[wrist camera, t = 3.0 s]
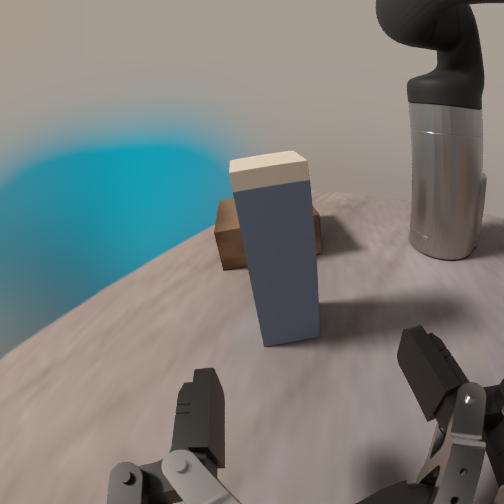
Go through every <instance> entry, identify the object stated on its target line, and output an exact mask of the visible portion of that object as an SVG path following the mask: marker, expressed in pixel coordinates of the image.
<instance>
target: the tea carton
mask: <svg viewBox="0 0 504 504" xmlns="http://www.w3.org/2000/svg"><path fill="white" fill-rule="evenodd" d="M229 175H230V180H231V185H232V190H233V195H234V200H235V205H236V210H237V215H238V220H239V225H240V231H241V236H242V241H243V246H244V250H245V255H246V260H247V265H248V270H249V275H250V280H251V285H252V290H253V295H254V300H255V305H256V310H257V315H258V319H259V324H260V329H261V334H262V339H263V344H264V347H267V346H273V345H278V344H284V343H290V342H295V341H300V340H305V339H310V338H315V337H320V331H319V298H318V276H317V259H316V244H315V230H314V218H313V207H312V197H311V187H310V177H309V169H308V161H307V160H306V159H304V158H303V157H302V156H300V155H299V154H297V153H296V152H294V151H293V150H292V151H285V152H279V153H272V154H265V155H258V156H252V157H246V158H241V159H235V160H231V161H230V169H229Z"/></svg>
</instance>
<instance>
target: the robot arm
mask: <svg viewBox="0 0 504 504" xmlns="http://www.w3.org/2000/svg"><path fill="white" fill-rule="evenodd" d="M479 3H504V0H376V14H377V19H378V21H379V24H380V26H381V27H382V29H383V31H384V32H385V33H386V34H387V35H388V36H389V37H390V38H391V39H393V40H395V41H397V42H399V43H402V44H405V45H408V46H411V47H418V48H425V49H431V50H437V60H438V61H437V62H438V63H437V67H436V68H435V69H434V70H433V71H432V72H430V73H428V74H425V75H422V76H418V77H415V78H412V79H410V80H409V81H408V83H407V95H408V102H410V103H409V114H410V127H411V143H412V202H411V221H410V235H409V240H410V242H411V244H412V245H413V246H414V247H415V248H416V249H417V250H419V251H420V252H422V253H424V254H426V255H429V256H432V257H435V258H440V259H449V260H454V259H461V258H464V257H466V256H468V255H469V254H470V253H471V252H472V249H473V248H474V247H477V246H478V241H479V236H480V230H481V224H482V217H483V209H484V201H485V192H486V180H487V178H486V175H485V174H484V173H482V168H483V121H482V110H480V109H482V101H481V100H482V99H481V98H482V93H483V88H484V68H483V59H482V53H481V45H480V39H479V34H478V29H477V24H476V20H475V17H474V15H473V12H472V9H471V7H470V6H469V4H479ZM397 359H398V363H399V366H400V368H401V369H402V371H403V373H404V375H405V377H406V379H407V381H408V383H409V385H410V387H411V389H412V391H413V393H414V395H415V397H416V399H417V401H418V403H419V405H420V407H421V409H422V411H423V413H424V415H425V417H426V420H427V422H428V421H430V420H433V419H435V418H436V420H437V422H438V423H437V425H436V428H435V432H434V436H433V439H432V443H431V446H430V449H429V453H428V456H427V459H426V462H425V464H424V466H423V467H422V469H421V471H420V473H419V475H418V477H417V479H416V482H415V483H413V484H407V481H406V480H405V481H402V482H400V483H397V484H395V485H392V486H389V487H387V488H384V489H381V490H379V491H378V492H376V493H374V494H372V495H371V496H369V497H367V498H365V499H364V500H362V501H360V502H358V503H356V504H472V502H473V499H474V495H475V492H476V488H477V485H478V481H479V477H480V473H481V469H482V464H483V459H484V454H485V450H486V452H487V455H488V458H489V460H490V463H491V466H492V468H493V471H494V474H495V477H496V480H497V483H498V486H499V490H498V492H497V495H496V497H495V499H494V504H504V379H503V380H502V382H501V383H500V385H495V386H490V387H482V386H481V385H479V384H477V383H474V382H469V380H468V379H467V378H466V376H465V375H464V373H463V371H462V370H461V368H460V367H459V365H458V364H457V362H456V361H455V359H454V358H453V356H451V353H450V352H449V350H448V349H446V346H445V345H444V343H443V342H442V340H441V339H440V338H438V337H437V336H435V335H434V334H433V333H429V334H427V332H426V331H425V330H424V328H423V327H422V326H421V325H416V326H413V327H410V328H407V329H404V330H403V332H402V336H401V341H400V345H399V349H398V353H397ZM217 468H225V399H224V392H223V388H222V386H221V384H220V381H219V379H218V376H217V374H216V372H215V369H214V368H203V369H195V371H194V377H193V382H188V383H184V385H183V386H182V388H181V390H180V391H179V393H178V400H177V407H176V415H175V423H174V431H173V439H172V447H171V450H170V452H169V453H168V454H167V455H166V456H165V458H164V459H162V460H160V461H158V462H155V463H151V464H147V465H142V466H136V465H135V464H133V463H130V462H122V463H119V464H117V465H116V466H115V467H114V468H113V469H112V471H111V473H110V479H109V488H108V497H107V504H172V503H177V502H181V501H184V502H185V503H186V504H242V503H241V502H240V501H239V500H238V499H237V498H236V497H235V496H234V495H233V494H232V493H231V492H230V491H229V490H228V489H227V488H226V487H225V486H224V485H223V484H222V483H221V482H220V481H219V480H218V479H217Z"/></svg>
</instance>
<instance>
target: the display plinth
mask: <svg viewBox="0 0 504 504" xmlns="http://www.w3.org/2000/svg"><path fill="white" fill-rule="evenodd" d="M312 207H313V206H312ZM313 218H314V230H315V244H316V254H321V253H322V245H321V229H320V215H319V213H318V212H317V211H316V210H315V208H314V207H313ZM214 234H215V238H216V242H217V246H218V251H219V255H220V259H221V263H222V267H223V270H229V269H235V268H241V267H247V266H248V265H247V260H246V255H245V250H244V246H243V241H242V236H241V231H240V225H239V220H238V215H237V210H236V205H235V200H234V198H232V199H227V200H221V201H219V206H218V212H217V218H216V224H215V231H214Z"/></svg>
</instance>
